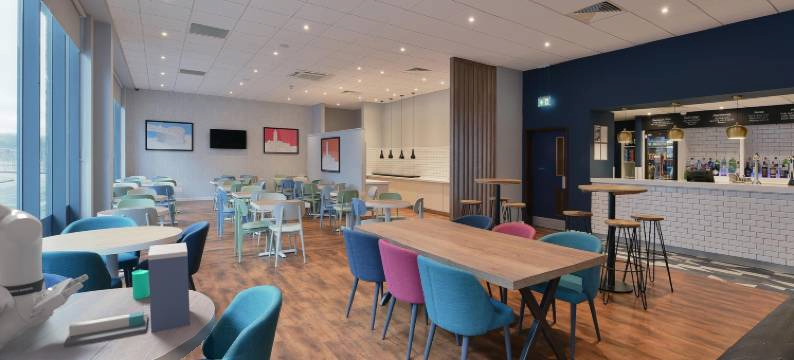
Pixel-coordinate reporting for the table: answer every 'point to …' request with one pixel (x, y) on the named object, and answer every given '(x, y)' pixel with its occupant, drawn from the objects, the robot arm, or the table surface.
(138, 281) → the candle
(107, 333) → the board
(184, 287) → the tall slate-blue pillar
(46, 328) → the table surface
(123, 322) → the white and teal box
